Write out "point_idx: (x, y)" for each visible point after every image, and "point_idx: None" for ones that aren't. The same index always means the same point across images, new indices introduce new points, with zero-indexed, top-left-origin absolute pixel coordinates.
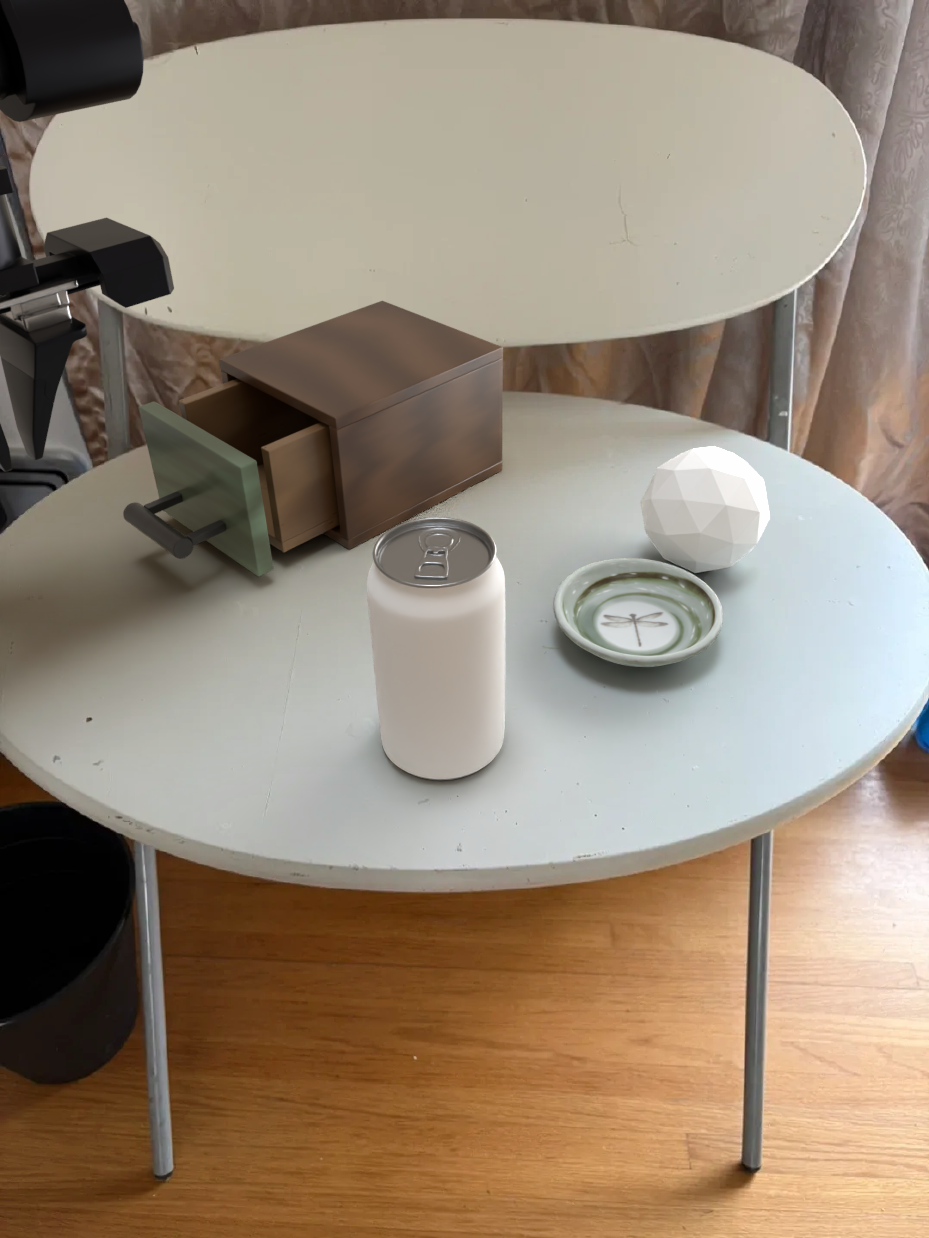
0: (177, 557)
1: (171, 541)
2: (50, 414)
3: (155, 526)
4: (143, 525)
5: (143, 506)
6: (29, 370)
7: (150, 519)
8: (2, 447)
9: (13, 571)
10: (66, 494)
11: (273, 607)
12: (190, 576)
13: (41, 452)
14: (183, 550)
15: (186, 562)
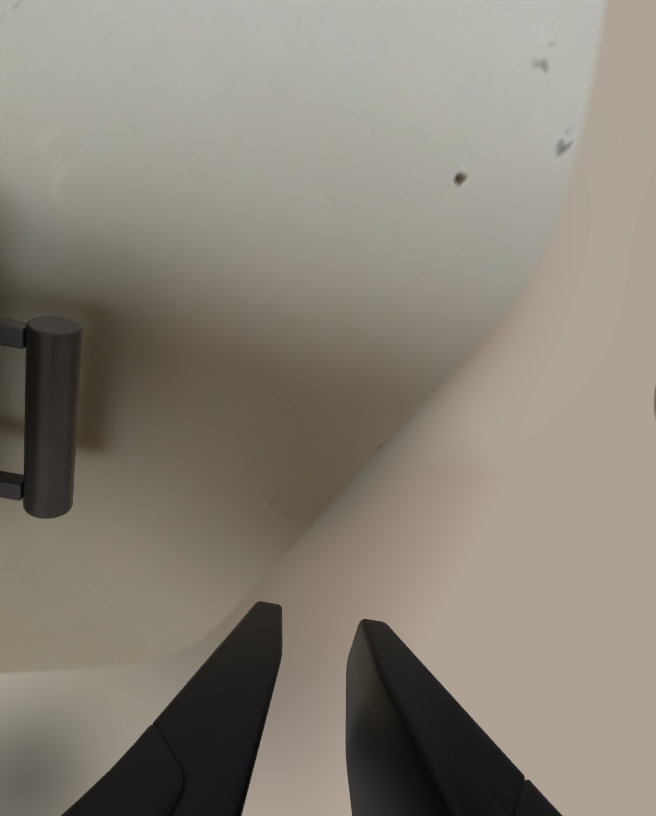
0: (79, 324)
1: (63, 350)
2: (186, 691)
3: (54, 417)
4: (66, 447)
5: (25, 493)
6: None
7: (46, 443)
8: (405, 678)
9: (253, 582)
10: (67, 669)
11: (13, 111)
12: None
13: (258, 611)
14: (57, 324)
15: None
